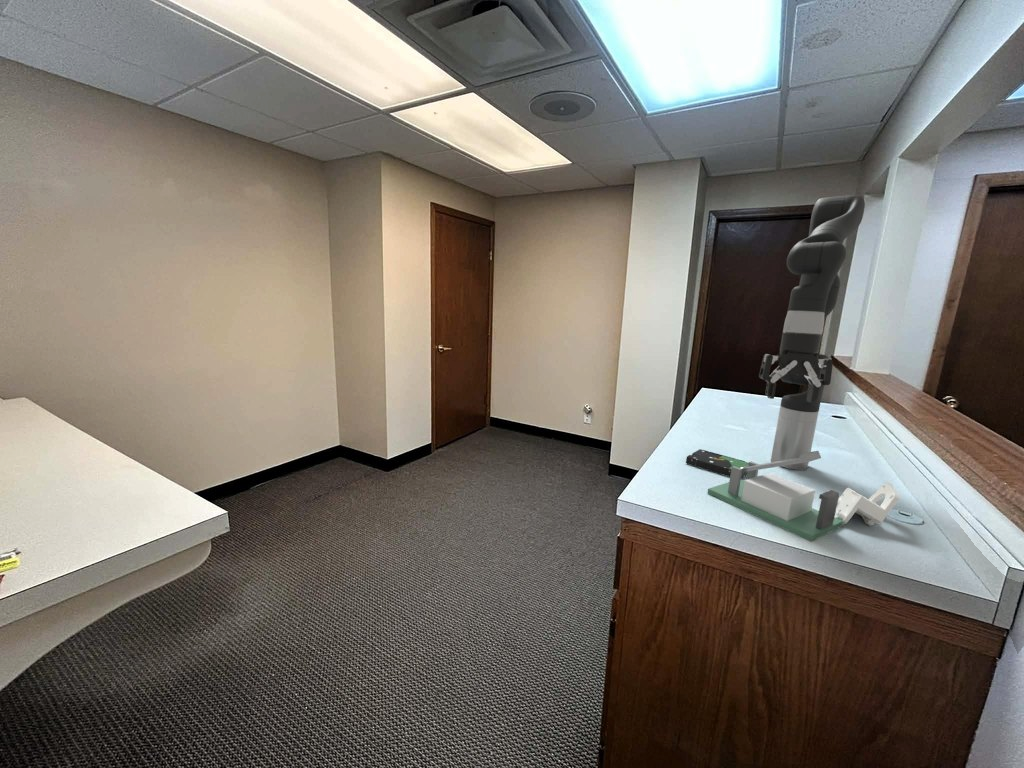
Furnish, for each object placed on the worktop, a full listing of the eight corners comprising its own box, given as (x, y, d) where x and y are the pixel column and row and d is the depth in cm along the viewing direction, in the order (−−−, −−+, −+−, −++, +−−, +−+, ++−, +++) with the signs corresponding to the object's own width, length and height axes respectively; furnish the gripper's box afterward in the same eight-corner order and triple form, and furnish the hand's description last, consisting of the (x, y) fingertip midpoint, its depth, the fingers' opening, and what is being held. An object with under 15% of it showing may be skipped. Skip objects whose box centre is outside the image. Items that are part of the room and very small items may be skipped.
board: (738, 483, 108) (743, 455, 106) (842, 525, 88) (849, 492, 87) (707, 493, 101) (711, 463, 100) (811, 541, 82) (819, 505, 80)
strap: (749, 470, 101) (746, 463, 102) (822, 458, 87) (818, 450, 88) (736, 474, 99) (733, 466, 99) (809, 462, 85) (805, 454, 85)
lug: (824, 521, 88) (831, 489, 86) (832, 524, 86) (839, 492, 85) (812, 526, 85) (819, 494, 84) (820, 530, 84) (827, 497, 82)
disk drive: (684, 465, 120) (740, 481, 110) (686, 456, 119) (742, 471, 109) (698, 457, 127) (751, 471, 117) (699, 448, 127) (753, 462, 117)
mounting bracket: (866, 541, 87) (905, 504, 82) (834, 521, 89) (870, 484, 85) (856, 517, 97) (890, 483, 92) (828, 500, 99) (860, 466, 95)
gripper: (828, 333, 98) (815, 400, 100) (762, 329, 101) (751, 394, 103) (846, 334, 91) (832, 406, 93) (775, 329, 93) (763, 399, 96)
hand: (789, 400), depth 98 cm, fingers open, 8 cm apart
